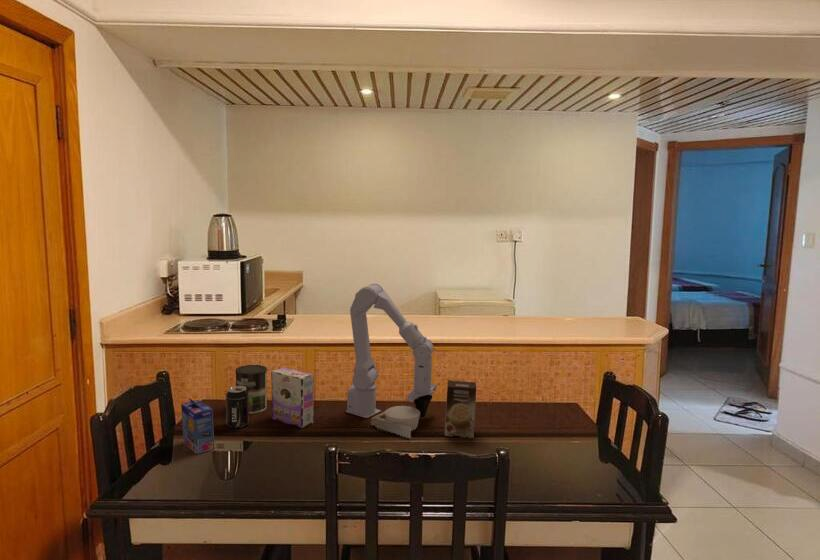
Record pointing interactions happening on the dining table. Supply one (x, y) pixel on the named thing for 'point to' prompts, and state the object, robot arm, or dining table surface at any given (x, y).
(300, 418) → the candy box
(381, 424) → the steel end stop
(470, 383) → the coffee box
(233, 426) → the beverage can
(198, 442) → the ink cartridge box
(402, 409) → the ramekin
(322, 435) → the dining table surface
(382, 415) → the oak rail
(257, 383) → the coffee can
